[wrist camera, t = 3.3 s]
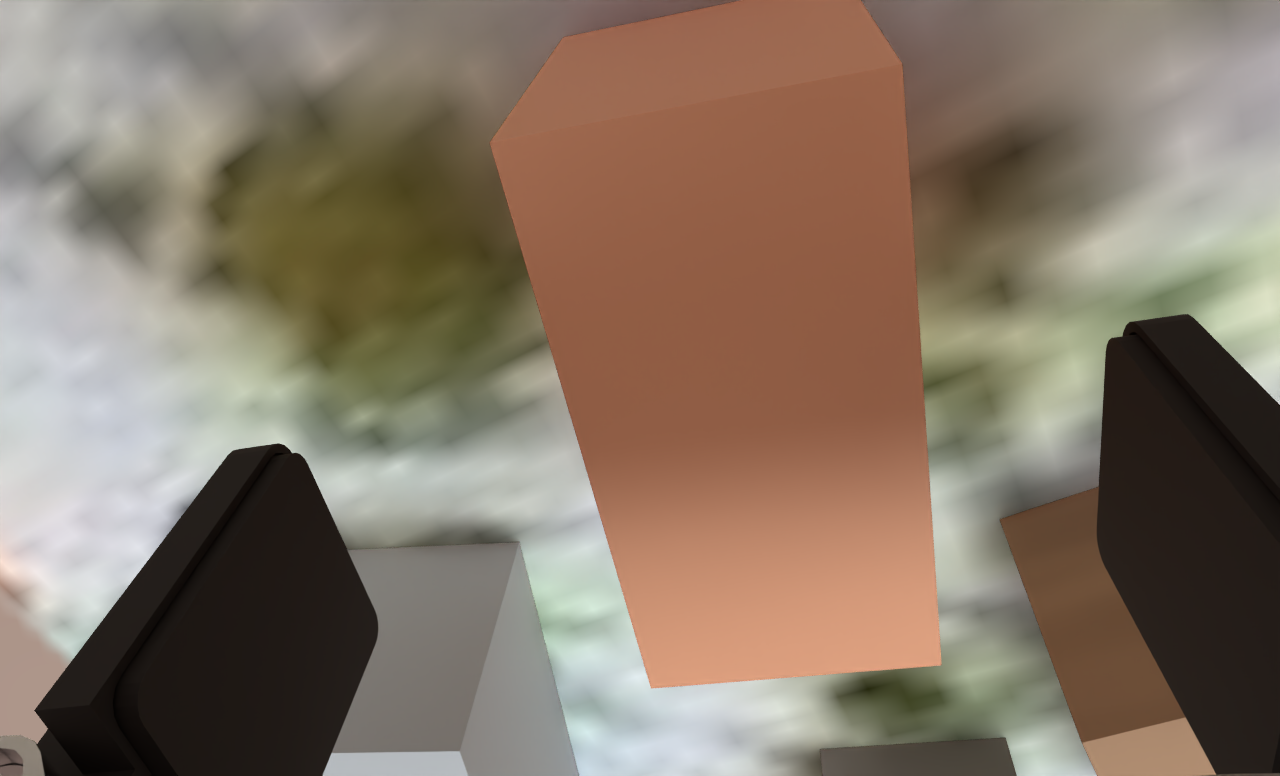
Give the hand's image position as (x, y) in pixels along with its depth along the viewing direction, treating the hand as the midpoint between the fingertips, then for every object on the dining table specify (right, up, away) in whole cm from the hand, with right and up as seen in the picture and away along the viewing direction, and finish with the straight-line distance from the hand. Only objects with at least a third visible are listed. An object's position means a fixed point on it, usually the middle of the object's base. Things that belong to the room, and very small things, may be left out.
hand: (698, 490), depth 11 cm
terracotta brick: (+1, +3, +4) cm, 5 cm away
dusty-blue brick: (-5, -5, +10) cm, 12 cm away
